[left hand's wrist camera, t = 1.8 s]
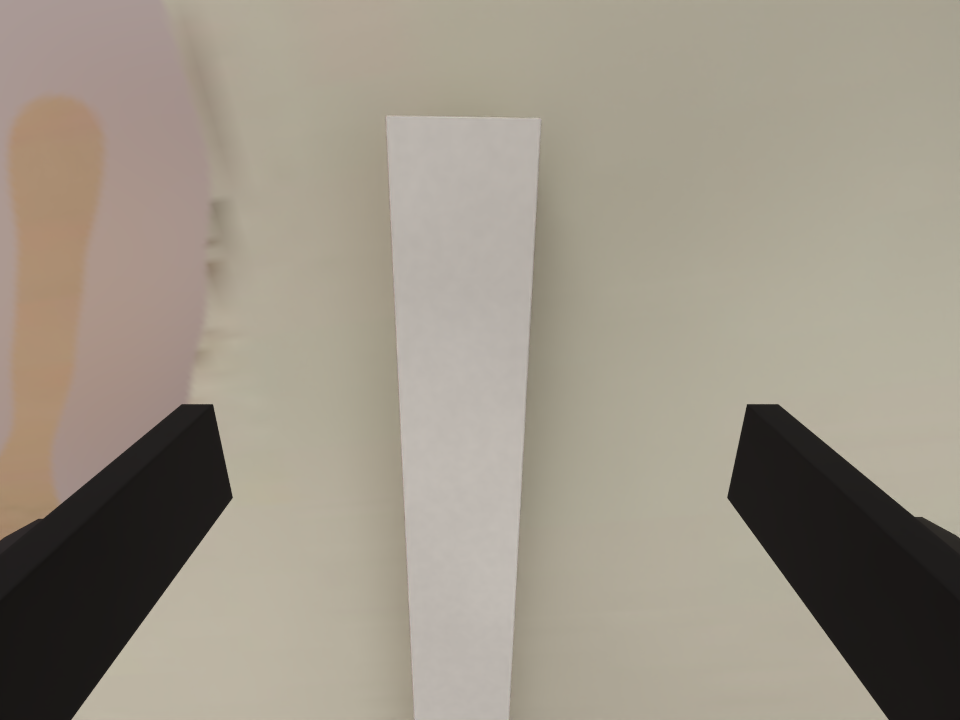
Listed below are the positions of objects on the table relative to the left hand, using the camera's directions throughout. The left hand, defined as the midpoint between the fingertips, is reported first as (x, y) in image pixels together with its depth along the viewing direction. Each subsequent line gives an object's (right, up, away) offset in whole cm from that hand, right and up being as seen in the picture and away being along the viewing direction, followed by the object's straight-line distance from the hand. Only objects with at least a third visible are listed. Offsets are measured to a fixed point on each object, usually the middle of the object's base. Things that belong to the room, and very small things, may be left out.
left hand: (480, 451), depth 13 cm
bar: (-1, -21, +22) cm, 31 cm away
